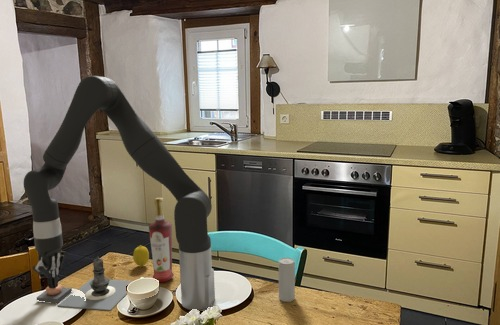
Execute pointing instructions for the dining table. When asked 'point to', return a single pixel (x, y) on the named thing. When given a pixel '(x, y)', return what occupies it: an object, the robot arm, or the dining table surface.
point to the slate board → (98, 303)
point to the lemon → (141, 255)
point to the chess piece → (99, 279)
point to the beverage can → (286, 279)
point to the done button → (54, 290)
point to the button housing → (54, 296)
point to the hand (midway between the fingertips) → (53, 287)
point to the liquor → (161, 244)
